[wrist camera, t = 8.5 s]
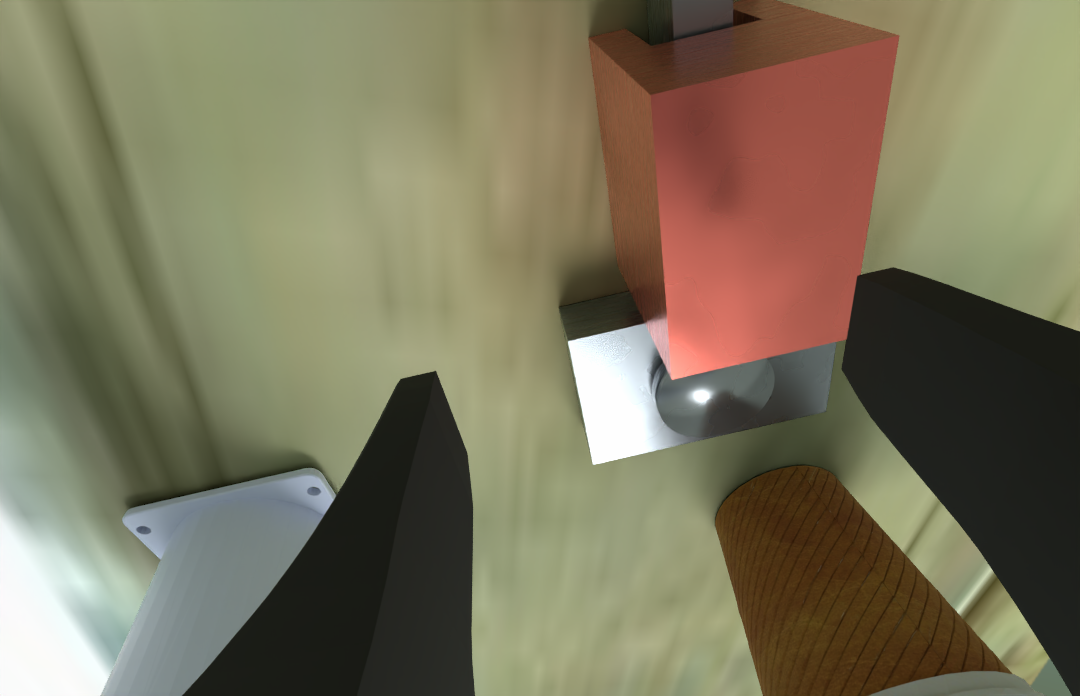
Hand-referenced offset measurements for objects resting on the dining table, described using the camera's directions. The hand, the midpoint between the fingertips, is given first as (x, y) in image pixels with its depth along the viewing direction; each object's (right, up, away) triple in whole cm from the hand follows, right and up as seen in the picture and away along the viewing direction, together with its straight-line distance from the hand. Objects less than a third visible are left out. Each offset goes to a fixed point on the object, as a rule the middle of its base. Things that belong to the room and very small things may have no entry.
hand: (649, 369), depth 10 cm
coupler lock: (+2, +6, +7) cm, 10 cm away
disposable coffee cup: (+10, -7, +19) cm, 23 cm away
